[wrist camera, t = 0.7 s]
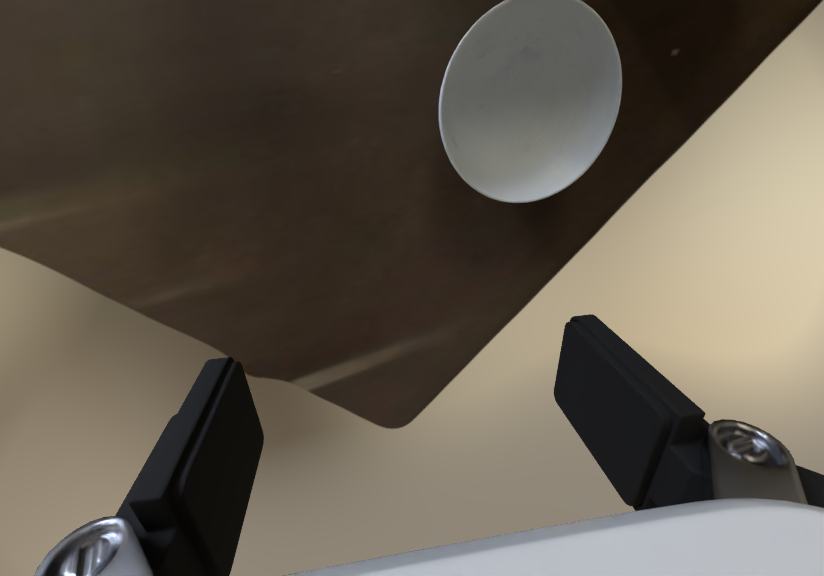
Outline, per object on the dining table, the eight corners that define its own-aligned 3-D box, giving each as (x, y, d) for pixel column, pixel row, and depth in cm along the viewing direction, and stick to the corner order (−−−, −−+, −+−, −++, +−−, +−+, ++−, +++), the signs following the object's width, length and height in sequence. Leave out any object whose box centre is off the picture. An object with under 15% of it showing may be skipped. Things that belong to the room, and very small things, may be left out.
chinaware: (602, 80, 37) (659, 74, 30) (510, 211, 41) (541, 232, 34) (483, -28, 31) (520, -65, 25) (393, 135, 36) (403, 143, 29)
